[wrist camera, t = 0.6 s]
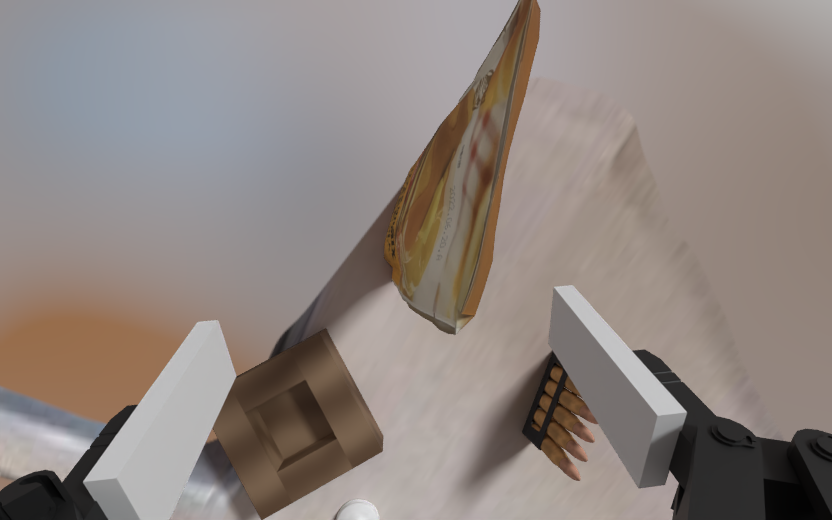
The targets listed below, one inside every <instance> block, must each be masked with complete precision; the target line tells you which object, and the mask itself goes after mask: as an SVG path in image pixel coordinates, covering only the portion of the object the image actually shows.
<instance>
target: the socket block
mask: <svg viewBox="0 0 832 520" xmlns="http://www.w3.org/2000/svg"><path fill="white" fill-rule="evenodd" d="M213 430H214V432H215V434H216V436H217V438H218V439H219V441H220V443H221V445H222V447H223V449H224V451H225V453H226V454H227V456H228V458H229V460H230V462H231V464H232V466H233V467H234V469H235V471H236V473H237V475H238V477H239V479H240V481H241V482H242V484H243V486H244V488H245V490H246V492H247V494H248V495H249V497H250V499H251V501H252V503H253V505H254V507H255V509H256V510H257V512H258V514H259V516H260V518H261V520H263V519H265V518H266V517H268V516H270V515H272V514H273V513H275V512H277V511H279V510H280V509H282V508H284V507H286V506H287V505H289V504H291V503H293V502H295V501H296V500H298V499H300V498H302V497H303V496H305V495H307V494H309V493H310V492H312V491H314V490H316V489H317V488H319V487H321V486H323V485H324V484H326V483H328V482H330V481H331V480H333V479H335V478H337V477H338V476H340V475H342V474H344V473H345V472H347V471H349V470H351V469H353V468H354V467H356V466H358V465H360V464H361V463H363V462H365V461H367V460H368V459H370V458H372V457H374V456H375V455H377V454H379V453H381V452H382V451H383V435H382V433H381V431H380V429H379V427H378V425H377V423H376V421H375V420H374V418H373V416H372V414H371V412H370V410H369V408H368V406H367V405H366V403H365V401H364V399H363V397H362V395H361V393H360V392H359V390H358V388H357V386H356V384H355V382H354V380H353V378H352V377H351V375H350V373H349V371H348V369H347V367H346V365H345V364H344V362H343V360H342V358H341V356H340V354H339V352H338V350H337V349H336V347H335V345H334V343H333V341H332V339H331V337H330V336H329V334H328V332H327V330H326V329H324V330H322V331H320V332H318V333H317V334H315V335H313V336H311V337H309V338H307V339H306V340H304V341H302V342H300V343H298V344H296V345H294V346H293V347H291V348H289V349H287V350H285V351H283V352H281V353H280V354H278V355H276V356H274V357H272V358H270V359H268V360H267V361H265V362H263V363H261V364H259V365H257V366H255V367H254V368H252V369H250V370H248V371H246V372H244V373H242V374H241V375H239V376H237V377H236V378H235V380H234V382H233V385H232V387H231V389H230V391H229V393H228V395H227V397H226V400H225V402H224V404H223V406H222V408H221V410H220V413H219V415H218V417H217V419H216V421H215V423H214V425H213Z"/></svg>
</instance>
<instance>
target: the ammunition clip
mask: <svg viewBox="0 0 832 520" xmlns="http://www.w3.org/2000/svg"><path fill="white" fill-rule="evenodd" d="M564 387H565V388H564ZM566 388H567V389H568V390H567V389H566ZM569 390H570V391H572V392H570V391H569ZM577 395H578V396H579V397H581V395H580V393H579V392H578V390H577V389H576V387H575V385H574V384H573V382H572V380H571V379H570V377H569V376H568V374H567V372H566V371H565V369H564V368H563V366H562V364H561V363H560V361H559V360H558V358H557V356H556V355H555V353H554V352H553V353H552V356H551V358H550V361H549V363H548V366H547V369H546V371H545V374H544V376H543V379H542V381H541V384H540V387H539V389H538V392H537V394H536V397H535V400H534V402H533V405H532V407H531V410H530V413H529V415H528V418H527V420H526V423H525V426H524V428H523V431H522V433H523V434H524V435H525V436H526V437H527V438H528V439H529V440H530V441H531V442H532V443H533V444H534V445H535V446H536V447H537V448H538V449H539V450H542V451H543V452H544V453H545V454H546V456H547V457H548V458H549V459H550V460H551V461H552V462H553V463H554V464H555V465H557V466H558V467H559V468H560V469H561V470H562V471H563V472H564V473H565V474H566V475H568V476H569V477H570V478H572V479H574V480H576V481H580V474H579V472H578V470H577V468H576V467H575V466H574V464H573V463H572V462H571V460H570V459H569V458H568V457H567V455H566V453H565V452H564V450H563V449H562V448H564V449H565V450H566V451H568V452H569V453H570V454H571V455H572V456H574V457H575V458H577V459H579V460H581V461H584V462H587V461H588V459H587V455H586V453H585V452H584V450H583V449H582V447H581V446H580V445H579V444H578V443H577V442H576V441H575V440H574V438H573V437H572V435H571V434H570V433H569V432H568V431H571V432H573V433H574V434H575V435H577V436H578V437H580V438H581V439H583V440H585V441H587V442H591V443H593V442H595V439H594V436H593V435H592V433H591V432H590V431H589V429H588V428H587V427H586V426H584V425H583V423H581V422H580V420H579V419H578V418H577V417H576V416H575V415H574V414H576V415H579V416H581V417H582V418H584V419H586V420H587V421H589V422H591V423H594V424H598V422H597V421H596V419H595V417H594V416H593V414H592V413H591V411H590V409H589V408H588V406H587V405H586V403H585V402H584V401H583V400H582V399H581V398H582V397H581V398H579V397H578V396H577ZM561 404H562V405H561ZM565 407H566V408H565ZM571 412H572V413H571ZM573 413H574V414H573ZM558 422H559V423H560V424H559V423H558ZM566 429H567V430H568V431H567V430H566ZM561 447H562V448H561Z"/></svg>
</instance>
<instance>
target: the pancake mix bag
mask: <svg viewBox="0 0 832 520" xmlns="http://www.w3.org/2000/svg"><path fill="white" fill-rule="evenodd" d="M539 28H540V8H539V5H538V3H537V0H519V1H518V3H517V5H516V7H515V9H514V11H513V12H512V14H511V16H510V18H509V20H508V22H507V23H506V25H505V27H504V29H503V30H502V32H501V34H500V35H499V37H498V39H497V40H496V42H495V44H494V45H493V47H492V49H491V51H490V52H489V54H488V56H487V57H486V59H485V61H484V62H483V64H482V65H481V67H480V68H479V70H478V72H477V75H476V77H475V79H474V81H473V82H472V84H471V85H470V86H469V87H468V89H467V90H466V91H465V93H464V94H463V96H462V97H461V98H460V100H459V103H458V105H457V106H456V107H455V108H454V110H453V111H452V112H451V113H450V114H449V115H448V116H447V118H446V119H445V120H444V121H443V122H442V124H441V125H440V126H439V128H438V130H437V131H436V133H435V134H434V136H433V138H432V139H431V141H430V142H429V144H428V145H427V146H426V148H425V149H424V151H423V152H422V154H421V155H420V157H419V158H418V160H417V161H416V163H415V164H414V165H413V167H412V168H411V169H410V171H409V173H408V176H407V178H406V180H405V183H404V185H403V188H402V190H401V193H400V195H399V198H398V201H397V203H396V206H395V209H394V212H393V215H392V218H391V221H390V225H389V228H388V232H387V235H386V239H385V244H384V259H385V260H386V261H387V262H388V263H389V264H390V265H391V266H392V268H393V272H392V280H391V281H393V282H394V284H395V286H396V287H397V288H398V291H399V293H400V295H401V296H402V299H403V300H404V301H406V302H407V304H408V306H409V308H410V309H412V310H413V311H414V312H416V313H417V314H419V315H420V316H422V317H423V318H425V319H427V320H429V321H431V322H432V323H433V324H434V325H435V326H436V327H437V328H438V329H439V330H441V331H443V332H446V333H448V334H454V335H456V334H457V333H458V332H459V331H460V330H461V329H462V328H463V327H464V326H465V325H466V324H467V323H468V322H469V321H470V320H471V319H472V318H473V317H474V316H475V314H476V311H477V308H478V305H479V302H480V299H481V296H482V294H483V291H484V288H485V284H486V281H487V278H488V274H489V271H490V268H491V264H492V261H493V250H494V239H495V230H496V225H497V219H498V213H499V207H500V201H501V194H502V186H503V179H504V174H505V169H506V164H507V159H508V155H509V150H510V146H511V143H512V139H513V135H514V131H515V128H516V124H517V121H518V117H519V114H520V111H521V107H522V104H523V101H524V97H525V94H526V89H527V85H528V81H529V76H530V72H531V67H532V63H533V60H534V56H535V52H536V48H537V44H538V40H539Z"/></svg>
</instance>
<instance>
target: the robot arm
mask: <svg viewBox="0 0 832 520" xmlns="http://www.w3.org/2000/svg"><path fill="white" fill-rule="evenodd" d="M548 344H549V345H550V347H551V348H552V350H553V352H554V353H555V355H556V356H557V358H558V360H559V361H560V363H561V364H562V366H563V368H564V369H565V371H566V372H567V374H568V376H569V377H570V379H571V380H572V382H573V384H574V385H575V387H576V389H577V390H578V392H579V393H580V395H581V397H582V398H583V400H584V401H585V403H586V405H587V406H588V408H589V409H590V411H591V413H592V414H593V416H594V417H595V419H596V421H597V422H598V424H599V426H600V427H601V429H602V430H603V432H604V434H605V435H606V437H607V438H608V440H609V442H610V443H611V445H612V446H613V448H614V450H615V451H616V453H617V454H618V456H619V458H620V459H621V461H622V462H623V464H624V466H625V467H626V469H627V471H628V472H629V474H630V475H631V477H632V479H633V480H634V482H635V483H636V485H637V487H638V488H645V487H653V486H661V485H665V483H666V480H667V477H668V473H669V470H670V471H671V473H672V474H673V475H674V477H675V478H676V480H677V481H678V482H679V485H678V488H677V491H676V494H675V497H674V500H673V503H672V506H671V509H673V510H674V512H673V519H672V520H832V434H829V433H826V432H823V431H819V430H812V429H803V430H800V431H797V432H796V434H795V435H794V437H793V439H792V441H791V442H787V441H780V440H773V439H766V438H760V437H756V436H755V435H754V434H753V433H752V432H751V431H750V430H748V429H747V428H745V427H744V426H743V425H741V424H739V423H737V422H734V421H732V420H730V419H726V418H722V417H717V416H716V415H715V414H714V413H713V412H712V411H711V410H710V409H709V408H708V407H707V406H706V405H705V404H704V403H703V402H702V401H701V400H700V399H699V398H698V397H697V396H696V395H695V394H694V393H693V392H692V391H691V390H690V389H689V388H688V387H687V386H686V385H685V384H684V383H683V382H681V380H680V379H679V378H678V376H677V375H676V374H675V373H672V371H671V369H670V368H669V367H668V366H667V365H666V364H665V363H664V362H663V361H662V360H661V359H660V358H658V357H656V356H655V355H653V354H651V353H650V352H648V351H646V350H636V351H631V349H630V348H629V347H628V346H627V345H626V344H625V343H624V342H623V341H622V339H621V338H620V337H619V336H618V335H617V334H616V333H615V332H614V331H613V330H612V328H611V327H610V326H609V325H608V324H607V323H606V322H605V321H604V320H603V318H602V317H601V316H600V315H599V314H598V313H597V312H596V311H595V310H594V308H593V307H592V306H591V305H590V304H589V303H588V302H587V301H586V300H585V298H584V297H583V296H582V295H581V294H580V293H579V292H578V291H577V290H576V289H575V287H574V286H573V285H570V286H559V287H554V290H553V300H552V311H551V321H550V331H549V342H548ZM235 378H236V373H235V370H234V367H233V364H232V361H231V358H230V355H229V352H228V349H227V345H226V342H225V339H224V336H223V333H222V330H221V327H220V324H219V321H218V320H213V321H202V322H197V324H196V325H195V327H194V328H193V329H192V331H191V332H190V333H189V335H188V336H187V338H186V339H185V340H184V342H183V343H182V345H181V346H180V347H179V349H178V350H177V352H176V353H175V354H174V356H173V357H172V358H171V360H170V361H169V363H168V364H167V365H166V367H165V368H164V370H163V371H162V372H161V374H160V375H159V377H158V378H157V379H156V381H155V382H154V384H153V385H152V386H151V388H150V389H149V390H148V392H147V393H146V395H145V396H144V398H143V399H142V400H141V402H140V403H139V404H138V405H131V406H127V407H125V408H124V409H123V410H122V411H120V412H119V413H118V414H117V415H115V416H114V417H113V418H112V419H111V420H110V421H109V422H108V424H107V425H106V426H105V427H104V429H103V430H102V431H101V433H100V434H99V437H97V438H96V439H95V441H94V442H93V443H92V444H91V446H90V449H88V450H87V451H86V452H85V454H84V455H83V456H82V457H81V459H80V460H79V461H78V463H77V464H76V465H75V467H74V468H73V469H72V471H71V472H70V473H69V474H68V476H67V477H66V478H65V480H64V481H63V482H61V481H60V479H59V478H58V476H57V475H56V474H55V472H54V471H48V470H43V471H38V472H33V473H31V474H28V475H26V476H23V477H21V478H19V479H17V480H16V481H14V482H12V483H11V484H9V485H8V486H6V487H5V488H3V489H2V490H1V491H0V520H170V518H171V516H172V514H173V512H174V509H175V507H176V505H177V503H178V501H179V499H180V496H181V494H182V492H183V490H184V488H185V486H186V484H187V481H188V479H189V477H190V475H191V473H192V471H193V468H194V466H195V464H196V462H197V460H198V458H199V456H200V453H201V451H202V449H203V447H204V445H205V443H206V440H207V438H208V436H209V434H210V432H211V430H212V428H213V425H214V423H215V421H216V419H217V417H218V415H219V413H220V410H221V408H222V406H223V404H224V402H225V400H226V397H227V395H228V393H229V391H230V389H231V387H232V385H233V382H234V380H235Z"/></svg>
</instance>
